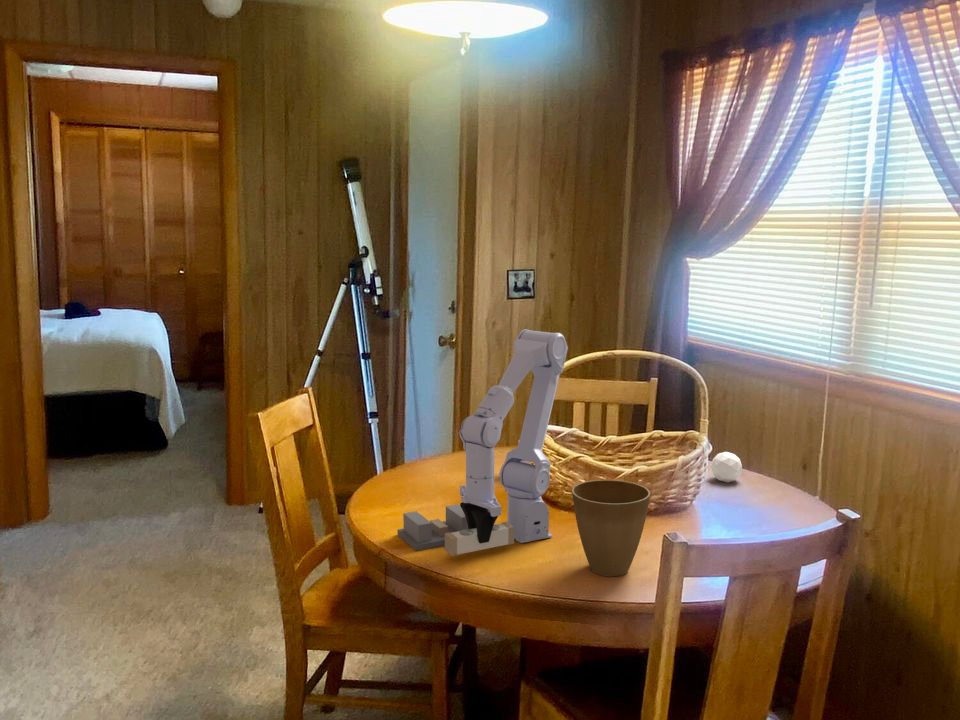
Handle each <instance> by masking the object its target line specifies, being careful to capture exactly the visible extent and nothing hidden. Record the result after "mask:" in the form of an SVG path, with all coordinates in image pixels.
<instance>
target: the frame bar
mask: <svg viewBox="0 0 960 720" xmlns="http://www.w3.org/2000/svg"><path fill="white" fill-rule="evenodd" d="M514 543H515V539H514V526H512V525H511V524H509V523H508V522H507V521H503V522H501V523H494V526H493V529H492V532H491V536H490V540H489V542H486V543H479V541H478V537H477V528H474V529H469V530H468V529H465V530H461V531H458V532H453V533H450V532H449V533H445V546H444V551H445V552H446V553H447V554H449V555H450V556H451V557H453V556H458V555H462V554H467V553H471V552H477V551H482V550H487V549H491V548H495V547H496V548H497V547H502V546H505V545H512V544H513V545H514Z"/></svg>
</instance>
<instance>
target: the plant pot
mask: <svg viewBox="0 0 960 720" xmlns="http://www.w3.org/2000/svg"><path fill="white" fill-rule="evenodd" d="M571 492H572V494H571V495H572V503H573V508H574V514H575V520H576V526H577V530H578V535H579V538H580V540H581V541H580V542H581V544H582V548H583V551H584V554H585V558H586V560H587V563H588V565H589V568H590V570H591V571H592V572H593V573H595V574H597V575H599V576H603V577H619V576H623V575H626V574H627V573H628V572H629V570H630V568H631V566H632V563H633V561H634V559H635V555H636V553H637V550H638V547H639V545H640V540H641V538H642V534H643V531H644V527H645V523H646V520H647V515H648V509H649V505H650V497H651V492H650V489H648V488H647V487H645V486H644V485H641V484H638V483H636V482H631V481H626V480H618V479H596V480H594V479H593V480H587V481H583V482H580V483H578V484H576V485H574V486H573V487H572V489H571Z"/></svg>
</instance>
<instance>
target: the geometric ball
mask: <svg viewBox="0 0 960 720" xmlns="http://www.w3.org/2000/svg"><path fill="white" fill-rule="evenodd" d="M710 468H711V472H712V475H713V476H714V477H715V479H717V480H718V481H721V482H725V483H730V482H735V481H736V480H737V479H738V478H739V477H740V476H741V475H742V469H743V465H742V462H741V458H739V456H737V455H736V454H735V453H732V452H728V451H723V452H719V453H717V454H716V455H715V456H714V457H713V458H712V461H711V465H710Z"/></svg>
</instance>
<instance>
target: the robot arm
mask: <svg viewBox="0 0 960 720" xmlns="http://www.w3.org/2000/svg"><path fill="white" fill-rule="evenodd" d="M568 350H569V346H568V344H567V341H566V338H565V336H564V335H563V334H562V333H561V332H548V331H539V330H531V329H527V328H525V329H522V330H521V331H520V332H519V333H517V336H516V338H515V340H514V342H513V352H514V353H513V355H512V358H511V359H510V361H509V364H508V366H507V368H506V369H505V371H504V373H503V376H502V378H500V381H499V383H498V384H497V385H493V386H491V387H490V388H489V390H488V391H486V394H485V396H484V397H483V398H482V401H480V403H479V405H478V406H477V409H476V410H475V412H474V413H473V414H470V415H469V416H467V417H465V418H464V419H463V420H462V422H461V426H460V430H459V432H458V433H459V437H460V440H461V442H462V443H463V444H462V445H463V448H462V449H463V451H464V452H465V485H460V486H459V496H460V504H459V505H460V506H461V508H462V510H463V512H464V514H465V517H466V520H467V524H468V528H469V529H474V528H477V537H478V541H479V543H486V542H489V540H490V536H491V532H492V529H493V526H494V525H495V524H496V521H497V519H498V518H499V516H502V514H503V513H502V505H500V503H499V501H498V500H497V497H496V495H495V446H496V445H497V443H498V442H499V441H500V439H501V435H502V429H503V427H504V422H503V421H504V420H505V418H506V417H507V415H508V413H509V412H510V410H511V408H512V407H513V406H514V403H515V396H514V392H515V391H516V390H517V389H518V388H519V386H520V385H521V383H522V382H523V381H524V380H525V378H526V376H527V375H528V374H529V372H530V371H531V372H532V374H533V377H534V378H533V382H532V386H531V389H530V394H529V398H528V402H527V407H526V411H525V415H524V419H523V424H522V429H521V431H520V432H521V433H520V437H519V439H518V443H519V445H517V446H516V447H515V448H512V449H511V450H510V451H508V452H507V453H506V457H505V460H504V462H503V463H502V466H501V467H500V469H499V477H498V478H499V482H500V485H501V486H502V487H504V492H505V493H507V506H506V507H507V508H506V509H507V510H506V511H507V515H506V516H507V517H506V522H508V523H509V524H511V525H512V526H514V541H517V542H518V543H520V544H524V543H529V542H533V541H540V540H544V539H549V538H552V537H553V534H551V533H550V532H549V530H550V529H549V528H550V527H549V526H550V523H549V522H550V511H549V509H550V508H549V506H548V505H547V504H546V503H545V501H544V500H543V499H542V496H543V495H545V493H546V491H547V490H548V488H549V486H550V482H551V481H550V480H551V476H550V472H551V471H550V470H551V465H552V463H551V461H550V460H549V459H548V457H547V456H546V455H545V454H544V452H543V448H544V444H545V440H546V437H547V432H548V426H549V423H550V418H551V416H552V415H551V414H552V409H553V405H554V402H555V396H556V392H557V387H558V384H559V379H560V376H561V374H562V373H563V371H564V367H565V363H566V359H567V353H568ZM521 461H529V462H533V463H534V464H535V465H532V464H528V463H523V462H521Z"/></svg>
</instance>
